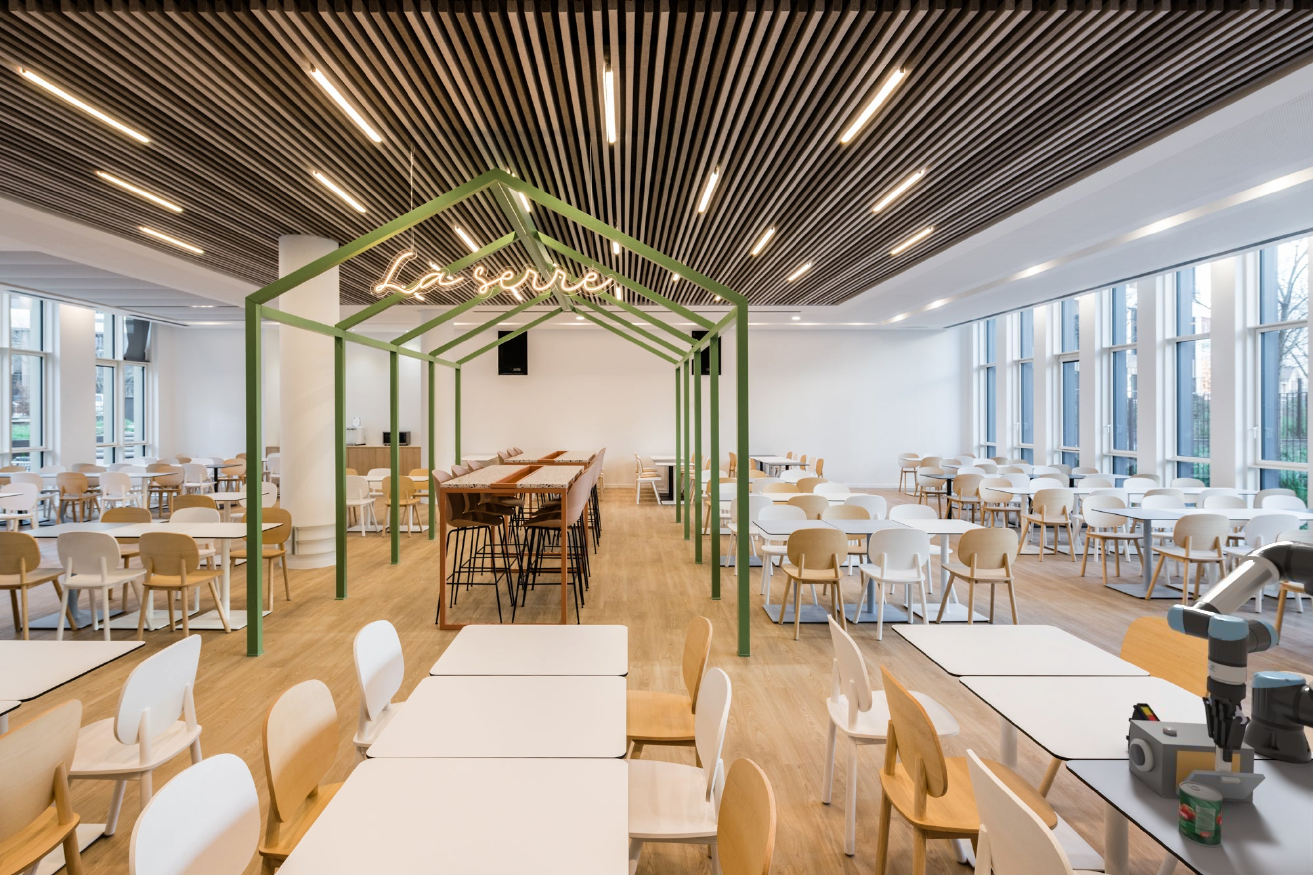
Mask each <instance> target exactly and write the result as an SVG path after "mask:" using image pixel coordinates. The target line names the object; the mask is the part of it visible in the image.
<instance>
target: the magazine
mask: <svg viewBox="0 0 1313 875" xmlns="http://www.w3.org/2000/svg"><path fill="white" fill-rule="evenodd" d="M1132 707H1133V711H1132V715H1131V717H1128V722H1129V723H1130V720H1141V721H1160V722H1162V721H1161V719H1160V718H1159V717H1158V716H1157V714H1156V713H1155V711H1154V710H1153V709H1152V708H1151V706H1150V705H1149V704H1148V703H1145V702H1137V703H1136V704H1133V705H1132ZM1128 728H1129V730H1128V735H1125V739H1126V740H1127V748H1128V749H1129V748H1130V726H1129V727H1128Z"/></svg>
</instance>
